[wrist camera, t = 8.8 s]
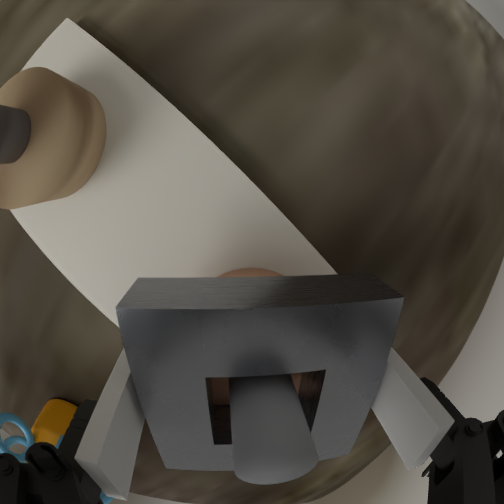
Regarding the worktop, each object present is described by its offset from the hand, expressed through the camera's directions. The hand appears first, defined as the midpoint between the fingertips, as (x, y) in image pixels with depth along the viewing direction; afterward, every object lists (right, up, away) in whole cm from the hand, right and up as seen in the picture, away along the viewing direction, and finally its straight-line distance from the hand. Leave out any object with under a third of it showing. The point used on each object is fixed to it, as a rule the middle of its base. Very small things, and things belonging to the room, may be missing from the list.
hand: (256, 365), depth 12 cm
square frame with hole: (0, 0, -1) cm, 0 cm away
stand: (-11, +11, 0) cm, 15 cm away
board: (-6, +7, +2) cm, 9 cm away
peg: (0, +1, +3) cm, 4 cm away
